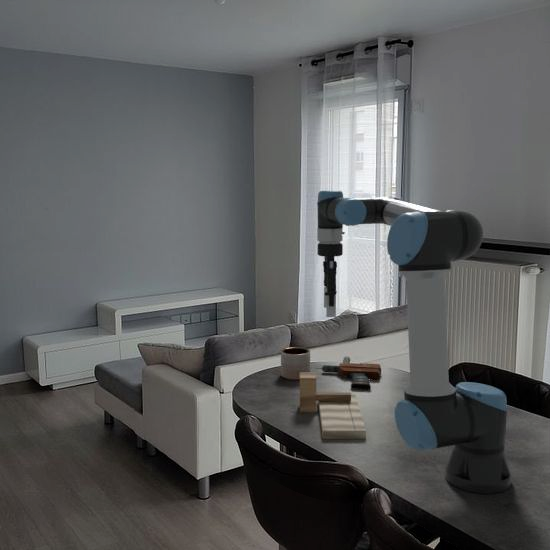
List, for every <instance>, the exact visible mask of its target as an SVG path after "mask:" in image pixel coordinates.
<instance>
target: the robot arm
mask: <svg viewBox="0 0 550 550" xmlns="http://www.w3.org/2000/svg"><path fill="white" fill-rule="evenodd" d="M316 205H317V230H316V231H317V233H316V235H317V239H316V240H317V242H318V243H317V255H318V256H319V257H323V259H324V260H323V261H322V267H323V308H324V309H325V310H326V311H325V312H326V316H325V317H326V318H337V313H336V312H337V310H336V309H337V293H338V292H337V268H338V265H337V264H338V262H337V260H335V257H341V256H342V255H343V253H344V252H343V246H344V244H343V243H342V241H343V235H345V233H346V232H345V231H344V229H343V228H344V226H347V227H350V226H351V227H352V226H359V225H373V224H374V225H375V224H377V225H379V224H381V225H382V224H383V225H386V226H390V228H389V230H388V234H387V241H386V242H387V243H386V246H387V247H386V248H387V254H388V256H389V259H390V260H391V262H392V263H394V265H395V264H396V265H397V266H398V273H399V274H400V275H402V276H403V278H404V279H405V286H406V289H405V290H406V308H407V310H406V311H407V330H408V331H407V332H408V334H407V335H408V352H409V353H408V354H409V356H408V357H409V378H410V380H409V383H408V384H407V386H405V388H403V389H404V390H403V391H404V392H403V394H404V395H403V396H404V397H403V398H404V399H401V400H400V401H398V402H396V403H397V404H396V406H395V408H394V420H395V424H396V428H397V431H398V432H399V435H400V437H401V438H402V440H403V442H405V444H407V446H408V447H410V449H413V450H415V451H420V452H421V451H434V450H437V449H440V448H446V447H451V446H452V449H451V451H450V454H449V456H448V459H447V462H446V464H445V471H444V473H445V474H444V477H445V479H446V481H448V482H449V483H450V485H452V486H454V487H456V488H458V489H461V490H463V491H467V492H471V493H475V494H484V495H485V494H488V495H489V494H497V493H502V492H504V491H507V490H508V489H509V488H510V487H511V484H512V472H511V469H510V465H509V463H508V459H507V456H506V452H505V451H506V449H505V448H506V445H505V444H506V433H507V432H506V429H507V416H508V415H507V413H508V408H507V399H508V398H507V396H506V394H505V392H504V391H503V390H501V389H499V388H497V387H494V386H492V385H488V384H484V383H478V382H471V381H461V382H458V383H457V384H456V385H455V386H453V385H452V384H451V383H450V381H449V378H450V377H449V357H448V334H447V333H448V331H447V330H448V329H447V311H446V310H447V309H446V308H447V307H446V284H445V281H446V276H447V275H448V274H449V273H450V272H451V271H452V262H455V261H456V262H457V261H463V260H465V259H468V258H470V257H471V256H473V255H474V254H475V253H476V252H477V251H478V250H479V248H480V247H481V245H482V242H483V240H484V238H483V237H484V229H483V226H482V223H481V222H480V220H479V219H478V218H477V217H476V216H475V215H474V214H472V213H470V212H467V211H463V210H458V209H457V210H456V209H450V210H446V211H445V210H439V209H435V208H430V207H428V206H427V207H426V206H422V205H419V204H415V203H410V202H406V201H405V199H404V198H402V197H395V196H388V197H344V192H343V191H342V190H320V191H319V192H318V193H317V203H316ZM343 225H344V226H343Z"/></svg>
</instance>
